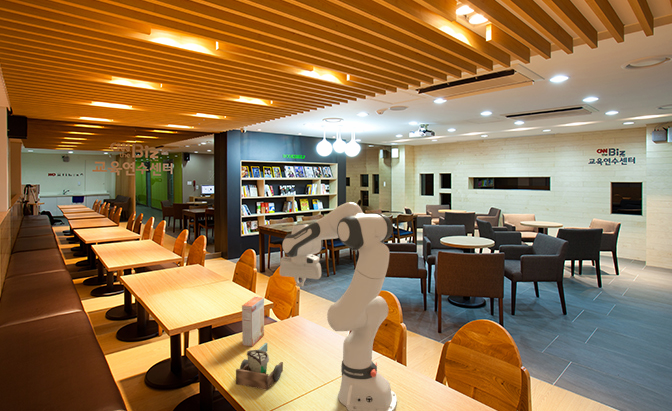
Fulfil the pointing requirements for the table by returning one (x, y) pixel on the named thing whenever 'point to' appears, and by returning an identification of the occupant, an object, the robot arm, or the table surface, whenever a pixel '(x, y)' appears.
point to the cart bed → (257, 376)
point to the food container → (257, 361)
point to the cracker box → (253, 321)
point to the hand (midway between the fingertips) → (300, 286)
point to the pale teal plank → (263, 347)
